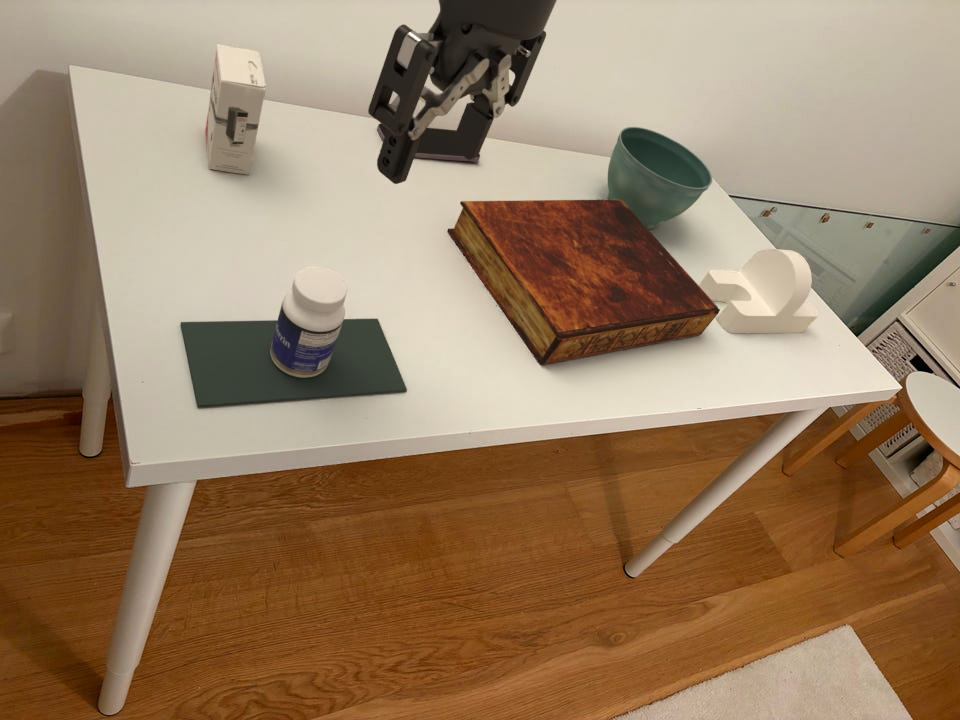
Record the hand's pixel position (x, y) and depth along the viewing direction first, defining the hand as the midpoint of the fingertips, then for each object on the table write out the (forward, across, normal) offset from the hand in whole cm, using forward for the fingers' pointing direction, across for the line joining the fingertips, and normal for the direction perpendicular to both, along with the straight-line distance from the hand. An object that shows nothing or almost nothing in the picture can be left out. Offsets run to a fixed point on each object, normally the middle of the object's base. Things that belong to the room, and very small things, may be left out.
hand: (428, 164), depth 53 cm
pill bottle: (+26, +1, -5) cm, 26 cm away
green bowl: (+26, -68, -1) cm, 73 cm away
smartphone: (+26, -44, -27) cm, 58 cm away
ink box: (+26, -14, -36) cm, 46 cm away
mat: (+26, +1, -5) cm, 27 cm away
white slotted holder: (+26, -66, +24) cm, 74 cm away
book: (+26, -40, +4) cm, 48 cm away
